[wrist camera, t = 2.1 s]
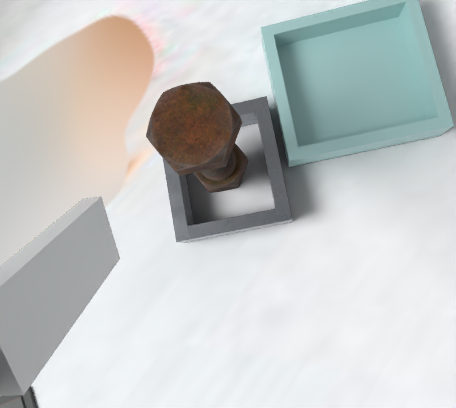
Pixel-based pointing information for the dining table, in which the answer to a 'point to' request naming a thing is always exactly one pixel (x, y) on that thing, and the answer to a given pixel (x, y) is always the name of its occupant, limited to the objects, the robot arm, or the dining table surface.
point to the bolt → (199, 135)
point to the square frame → (281, 214)
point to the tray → (354, 80)
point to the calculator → (18, 400)
